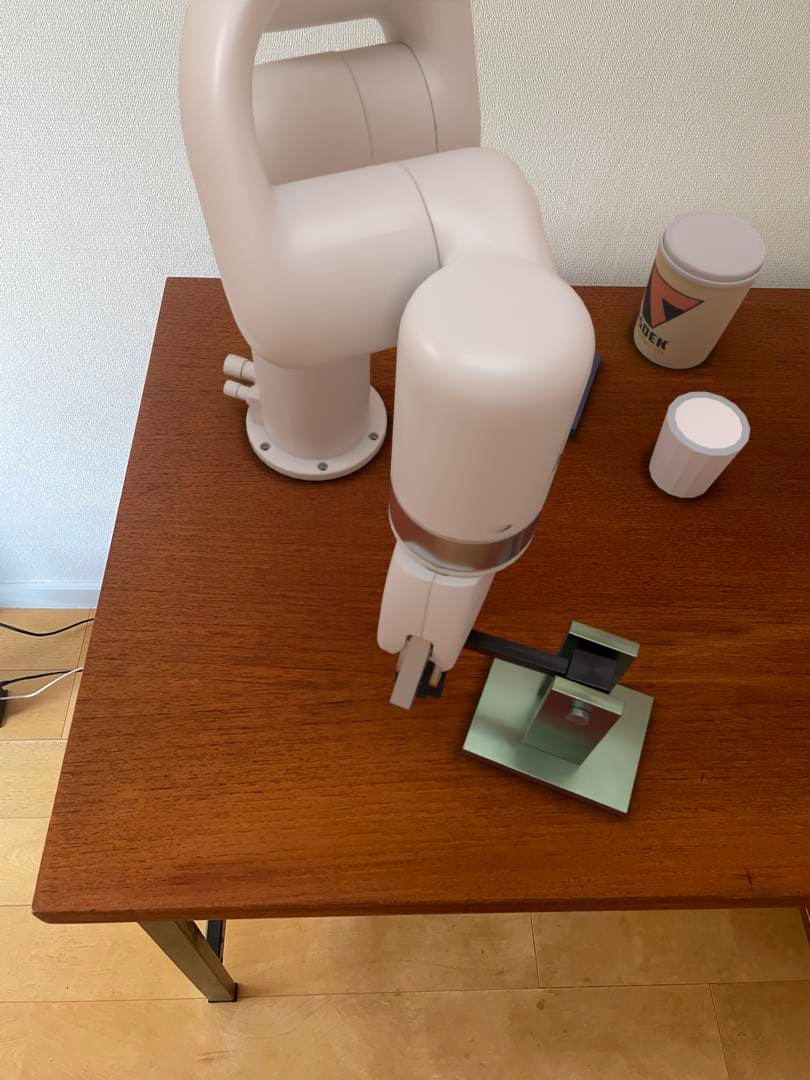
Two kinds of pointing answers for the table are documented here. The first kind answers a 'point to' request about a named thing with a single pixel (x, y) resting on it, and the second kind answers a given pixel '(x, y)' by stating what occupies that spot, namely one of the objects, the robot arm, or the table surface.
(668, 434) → the white cylinder
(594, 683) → the lever
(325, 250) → the robot arm
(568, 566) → the table surface
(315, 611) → the table surface
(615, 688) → the bracket
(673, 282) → the coffee cup
